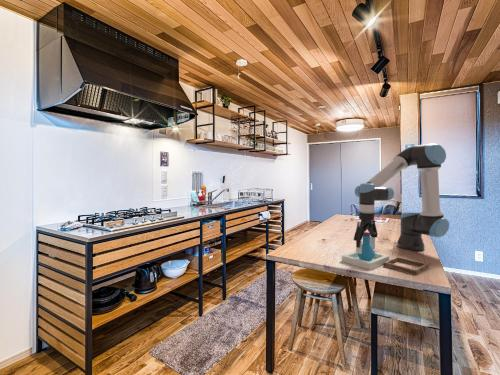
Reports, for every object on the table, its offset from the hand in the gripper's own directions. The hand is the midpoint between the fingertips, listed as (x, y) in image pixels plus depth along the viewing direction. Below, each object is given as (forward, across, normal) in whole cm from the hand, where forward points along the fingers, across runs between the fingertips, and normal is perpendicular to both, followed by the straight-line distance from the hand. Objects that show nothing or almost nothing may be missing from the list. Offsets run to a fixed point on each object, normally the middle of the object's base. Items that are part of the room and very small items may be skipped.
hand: (365, 251), depth 142 cm
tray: (+6, 0, 0) cm, 6 cm away
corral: (+6, -8, +17) cm, 20 cm away
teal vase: (+5, 0, 0) cm, 5 cm away
